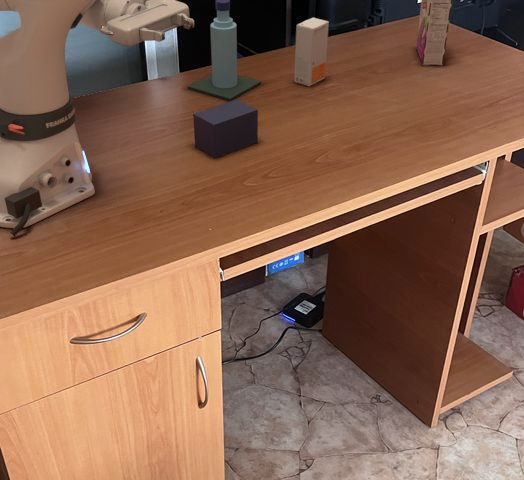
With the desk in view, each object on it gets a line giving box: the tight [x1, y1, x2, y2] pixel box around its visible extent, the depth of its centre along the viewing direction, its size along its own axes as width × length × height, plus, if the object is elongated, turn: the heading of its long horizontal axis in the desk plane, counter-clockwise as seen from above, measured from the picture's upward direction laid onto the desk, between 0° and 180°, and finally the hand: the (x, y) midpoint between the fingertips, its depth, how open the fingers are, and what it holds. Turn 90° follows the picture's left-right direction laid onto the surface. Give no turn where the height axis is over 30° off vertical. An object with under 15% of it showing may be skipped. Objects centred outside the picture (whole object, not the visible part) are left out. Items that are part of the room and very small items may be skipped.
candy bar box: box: [415, 0, 453, 67], centre depth 173 cm, size 11×5×16 cm, turn 179°
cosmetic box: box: [293, 17, 330, 87], centre depth 164 cm, size 6×4×12 cm
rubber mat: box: [187, 73, 262, 102], centre depth 165 cm, size 11×11×1 cm
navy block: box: [192, 98, 259, 159], centre depth 142 cm, size 6×10×6 cm, turn 130°
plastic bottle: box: [209, 0, 238, 88], centre depth 159 cm, size 14×5×14 cm
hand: (177, 30), depth 164 cm, fingers open, 8 cm apart
